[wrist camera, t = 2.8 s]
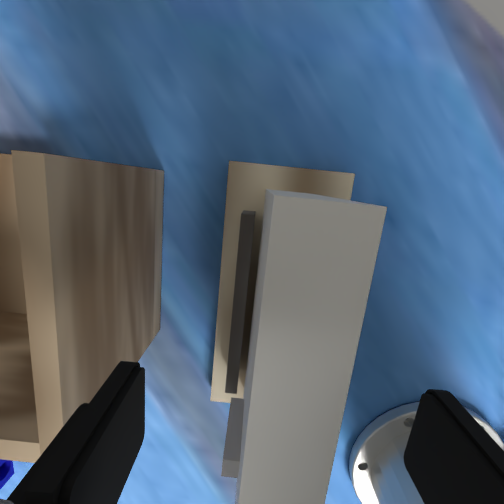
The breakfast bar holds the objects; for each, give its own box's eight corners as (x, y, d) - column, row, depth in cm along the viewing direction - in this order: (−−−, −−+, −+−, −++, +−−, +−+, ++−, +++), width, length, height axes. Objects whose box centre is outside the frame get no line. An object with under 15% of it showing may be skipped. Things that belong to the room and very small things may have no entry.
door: (253, 187, 18) (244, 192, 7) (312, 193, 18) (387, 206, 7) (233, 386, 22) (208, 583, 11) (282, 391, 22) (305, 594, 11)
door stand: (349, 174, 19) (370, 171, 15) (309, 400, 23) (318, 439, 20) (230, 162, 19) (224, 156, 15) (212, 389, 23) (204, 427, 20)
